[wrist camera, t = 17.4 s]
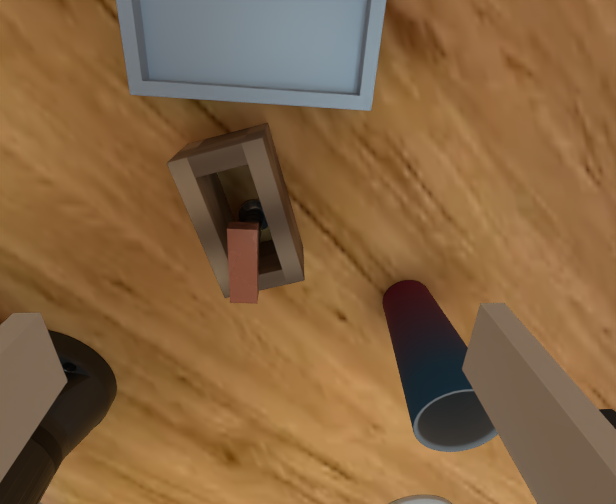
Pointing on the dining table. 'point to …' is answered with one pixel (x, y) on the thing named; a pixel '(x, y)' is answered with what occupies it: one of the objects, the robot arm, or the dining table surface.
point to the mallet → (245, 252)
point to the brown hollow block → (216, 211)
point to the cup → (434, 372)
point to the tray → (254, 50)
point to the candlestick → (421, 500)
